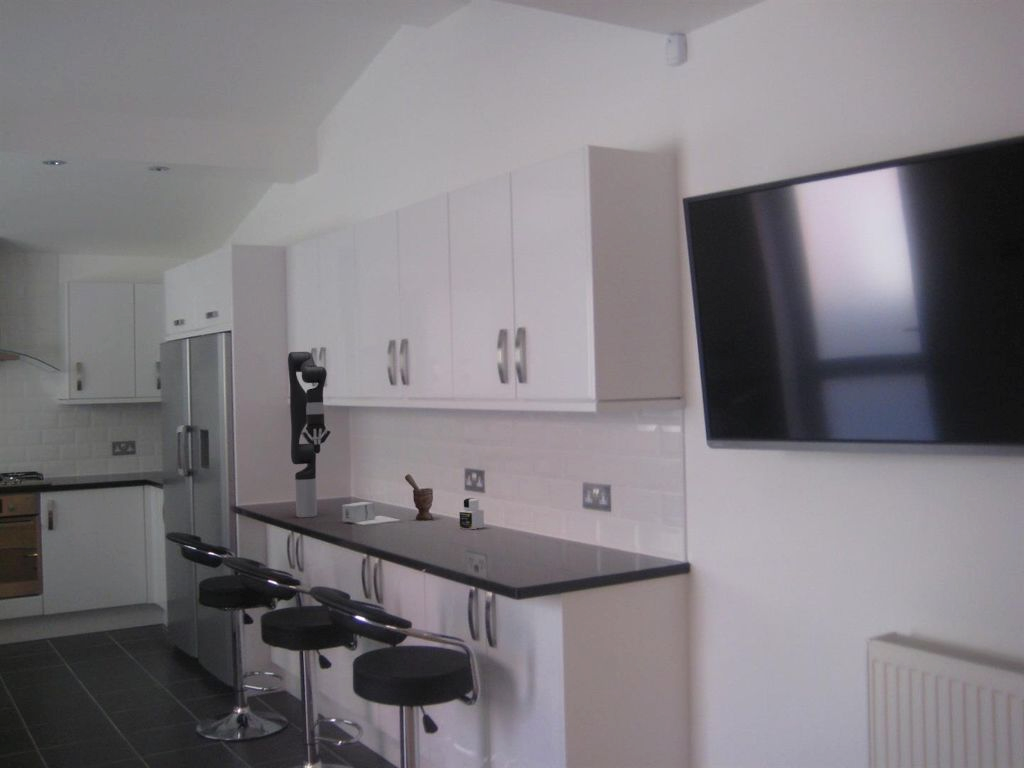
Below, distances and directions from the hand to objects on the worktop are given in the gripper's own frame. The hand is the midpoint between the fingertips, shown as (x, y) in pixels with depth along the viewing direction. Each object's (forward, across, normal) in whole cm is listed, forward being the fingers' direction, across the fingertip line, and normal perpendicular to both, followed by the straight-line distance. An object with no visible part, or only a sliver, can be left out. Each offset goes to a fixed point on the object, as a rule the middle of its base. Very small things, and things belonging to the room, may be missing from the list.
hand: (316, 453), depth 452 cm
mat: (+31, -21, +8) cm, 38 cm away
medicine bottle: (+30, -43, +58) cm, 78 cm away
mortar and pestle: (+31, -39, +19) cm, 53 cm away
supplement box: (+26, -10, +7) cm, 29 cm away
